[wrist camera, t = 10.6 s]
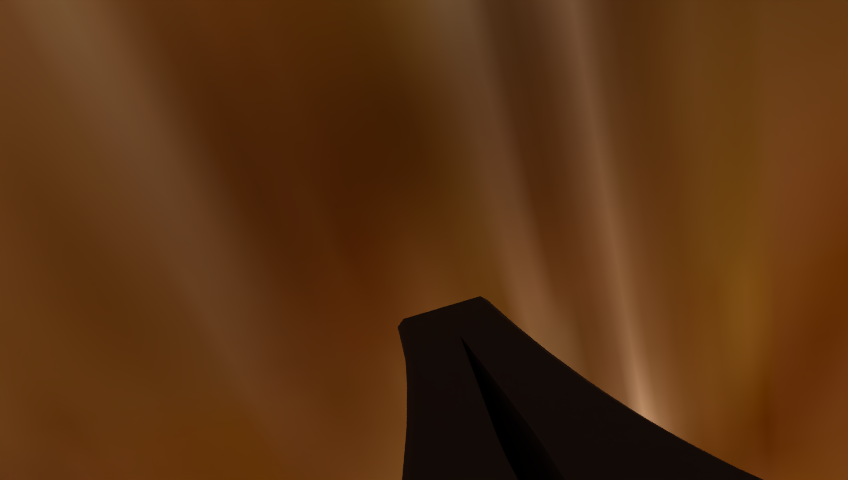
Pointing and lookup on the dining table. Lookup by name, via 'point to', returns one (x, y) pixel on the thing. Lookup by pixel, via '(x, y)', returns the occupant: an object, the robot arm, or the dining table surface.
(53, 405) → the dining table surface
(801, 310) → the dining table surface
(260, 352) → the dining table surface
